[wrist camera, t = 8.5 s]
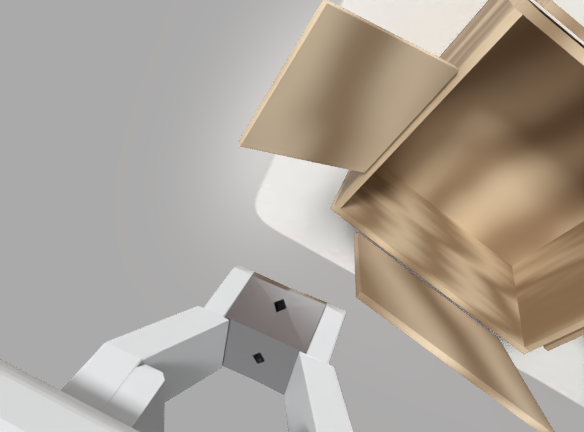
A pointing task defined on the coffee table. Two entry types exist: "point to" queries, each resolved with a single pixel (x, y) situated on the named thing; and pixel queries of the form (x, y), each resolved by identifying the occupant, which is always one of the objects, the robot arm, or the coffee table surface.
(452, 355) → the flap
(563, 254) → the open wooden box
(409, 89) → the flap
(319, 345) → the robot arm
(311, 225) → the coffee table surface
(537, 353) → the coffee table surface
